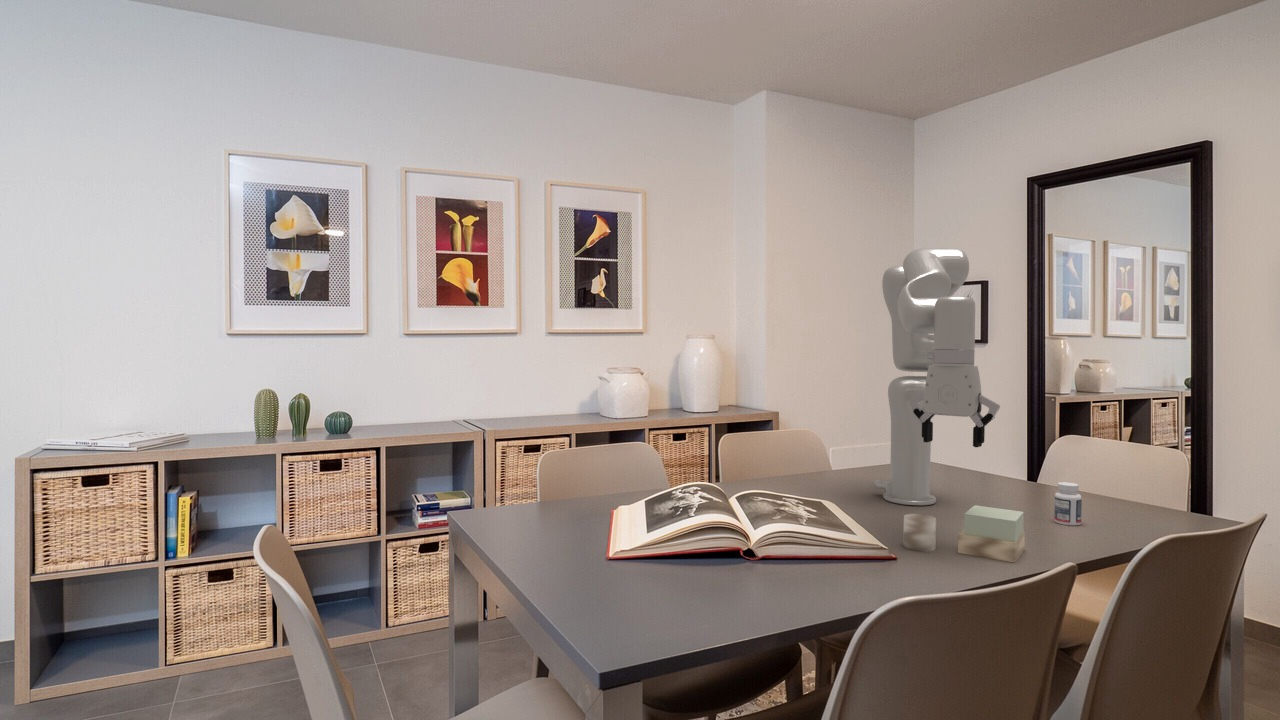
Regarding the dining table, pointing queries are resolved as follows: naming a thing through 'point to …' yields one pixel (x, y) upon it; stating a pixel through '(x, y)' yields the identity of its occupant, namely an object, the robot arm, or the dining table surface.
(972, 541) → the tower base block
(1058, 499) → the pill bottle
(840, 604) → the dining table surface
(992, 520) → the tower top block
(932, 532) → the marbled beige cylinder
